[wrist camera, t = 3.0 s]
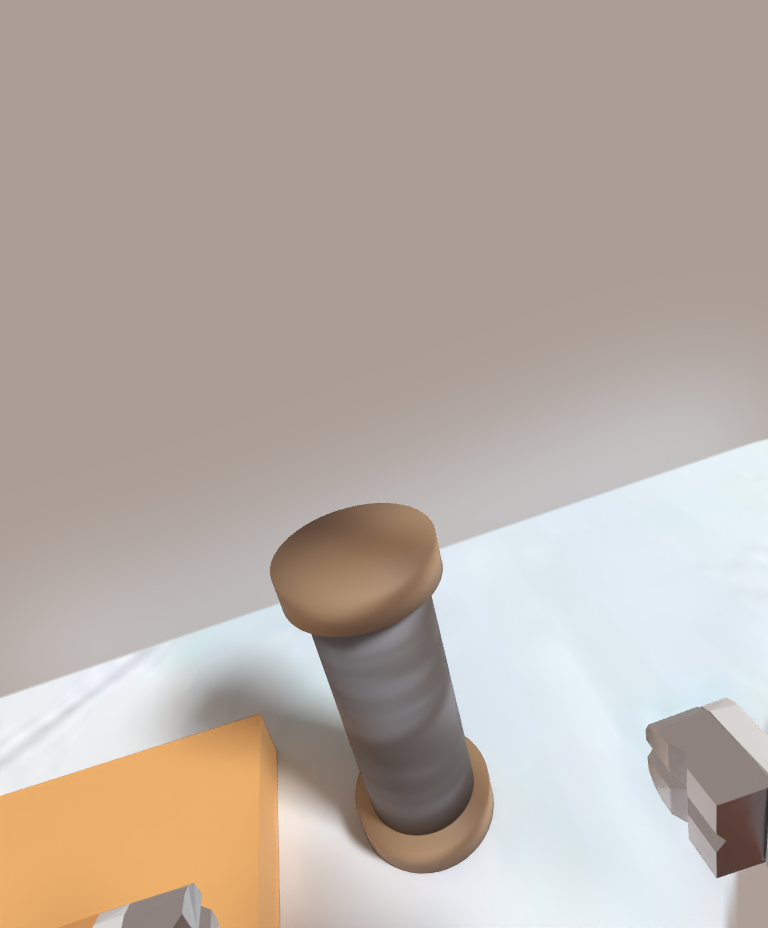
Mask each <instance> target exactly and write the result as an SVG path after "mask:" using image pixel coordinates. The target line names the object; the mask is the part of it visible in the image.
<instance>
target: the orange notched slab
mask: <svg viewBox="0 0 768 928" xmlns="http://www.w3.org/2000/svg"><path fill="white" fill-rule="evenodd" d="M191 883H195V885H196V886H197V888H198V889H199V890H200V892H201V893H202V899H201V906H203V907H205V908H208V909H211V910H212V911H213V913H214V915H215V916H216V918H217V921H218V924H219V927H220V928H280V905H279V849H278V793H277V751H276V748H275V746H274V744H273V741H272V739H271V737H270V734H269V732H268V730H267V727H266V725H265V723H264V720H263V718H262V716H261V714H257V715H254V716H251V717H248V718H245V719H242V720H238V721H235V722H232V723H229V724H226V725H223V726H220V727H216V728H213V729H210V730H207V731H204V732H201V733H197V734H194V735H191V736H188V737H185V738H182V739H179V740H175V741H172V742H169V743H166V744H163V745H160V746H157V747H153V748H150V749H147V750H144V751H141V752H138V753H134V754H131V755H128V756H125V757H122V758H119V759H116V760H112V761H109V762H106V763H103V764H100V765H97V766H93V767H90V768H87V769H84V770H81V771H78V772H75V773H71V774H68V775H65V776H62V777H59V778H56V779H53V780H49V781H46V782H43V783H40V784H37V785H34V786H30V787H27V788H24V789H21V790H18V791H15V792H12V793H8V794H5V795H2V796H0V928H92V927H93V925H94V924H95V922H96V920H97V918H98V916H99V914H101V913H104V912H106V911H109V910H112V909H115V908H118V907H121V906H124V905H127V904H130V903H134V902H137V901H140V900H143V899H146V898H149V897H152V896H155V895H158V894H161V893H164V892H167V891H170V890H173V889H176V888H179V887H182V886H185V885H188V884H191Z"/></svg>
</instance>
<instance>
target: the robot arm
mask: <svg viewBox="0 0 768 928" xmlns="http://www.w3.org/2000/svg"><path fill="white" fill-rule="evenodd" d="M646 740H647V741H648V743H649V744H650V745H651V747H652V748H653V749H652V751H651V753H650V754H649V756H648V765H649V772H650V774H651V777H652V780H653V782H654V785H655V787H656V789H657V791H658V793H659V795H660V797H661V798H662V800H663V802H664V803H665V805H666V806H667V808H668V809H669V810H670V812H671V813H672V814H673V815H675V816H677V817H679V818H680V819H682V820H684V821H686V822H688V828H689V840H690V841H691V842H692V844H693V845H694V847H695V848H696V850H697V851H698V852H699V854H700V855H701V857H702V858H703V860H704V861H705V862H706V864H707V865H708V867H709V868H710V870H711V871H712V872H713V874H714V875H715V877H716V878H719V877H722V876H725V875H728V874H731V873H734V872H737V871H740V870H743V869H746V868H749V867H752V866H755V865H758V864H761V863H764V862H766V866H767V867H768V734H767V733H766V732H765V731H764V730H763V729H762V728H761V727H760V726H759V725H758V724H757V723H756V722H755V721H754V720H753V719H752V718H751V717H750V716H749V715H748V714H747V713H746V712H745V711H744V710H743V709H742V708H741V707H740V706H739V705H738V704H737V703H736V702H734V701H732V700H730V699H728V698H724V699H720V700H718V701H715V702H712V703H710V704H707V705H704V706H702V707H696V708H693V709H690V710H687V711H685V712H682V713H679V714H677V715H674V716H671V717H668V718H666V719H663V720H660V721H657V722H655V723H652V724H649V725H648V726H647V728H646ZM201 899H202V893H201V892H200V890H199V889H198V888H197V886H196V885H195V883H191V884H188V885H185V886H182V887H179V888H176V889H173V890H170V891H167V892H164V893H161V894H158V895H155V896H152V897H149V898H146V899H143V900H140V901H137V902H134V903H130V904H127V905H124V906H121V907H118V908H115V909H112V910H109V911H106V912H104V913H101V914H99V916H98V918H97V920H96V922H95V924H94V925H93V927H92V928H220V927H219V924H218V921H217V918H216V916H215V915H214V913H213V911H212V910H211V909H208V908H205V907H203V906H201Z"/></svg>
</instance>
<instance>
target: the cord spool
mask: <svg viewBox="0 0 768 928" xmlns="http://www.w3.org/2000/svg"><path fill="white" fill-rule="evenodd" d="M442 572H443V565H442V560H441V555H440V551H439V546H438V542H437V537H436V533H435V529H434V525H433V523H432V521H431V520H430V519H429V518H428V517H427V516H426V515H425V514H423V513H422V512H420V511H419V510H417V509H414V508H412V507H409V506H405V505H400V504H391V503H375V504H365V505H358V506H353V507H349V508H345V509H342V510H338V511H335V512H333V513H330V514H327V515H325V516H322V517H320V518H318V519H316V520H314V521H312V522H310V523H309V524H307V525H305V526H303V527H302V528H301V529H299V530H298V531H296V532H295V533H294V534H293V535H291V536H290V537H289V538H288V539H287V540H286V541H285V542H284V543H283V544H282V545H281V547H279V549H278V550H277V552H276V553H275V555H274V557H273V559H272V562H271V566H270V576H271V580H272V582H273V585H274V588H275V591H276V593H277V596H278V598H279V601H280V604H281V607H282V609H283V612H284V614H285V616H286V618H287V619H288V620H289V621H290V622H291V623H292V624H293V625H294V626H295V627H297V628H299V629H301V630H302V631H305V632H308V633H310V634H312V637H313V640H314V643H315V645H316V648H317V651H318V654H319V657H320V660H321V662H322V665H323V668H324V671H325V674H326V677H327V679H328V682H329V685H330V688H331V691H332V693H333V696H334V699H335V702H336V705H337V708H338V710H339V713H340V716H341V719H342V722H343V725H344V727H345V730H346V733H347V736H348V739H349V741H350V744H351V747H352V750H353V753H354V756H355V758H356V761H357V764H358V767H359V770H360V774H359V777H358V780H357V785H356V805H357V810H358V813H359V816H360V819H361V822H362V824H363V827H364V830H365V832H366V835H367V837H368V839H369V842H370V844H371V845H372V847H373V848H374V850H375V851H376V852H377V853H378V854H379V856H380V857H382V858H383V859H384V860H385V861H386V862H388V863H389V864H391V865H393V866H394V867H396V868H399V869H401V870H404V871H408V872H412V873H433V872H439V871H442V870H445V869H448V868H451V867H453V866H455V865H457V864H459V863H460V862H462V861H463V860H465V859H466V858H467V857H468V856H469V855H471V854H472V853H473V852H474V851H475V850H476V848H477V847H478V846H479V845H480V843H481V842H482V840H483V839H484V837H485V835H486V833H487V831H488V829H489V827H490V824H491V821H492V815H493V806H494V801H493V793H492V788H491V784H490V779H489V774H488V770H487V766H486V763H485V760H484V758H483V756H482V754H481V753H480V751H479V750H478V748H477V747H476V746H475V745H474V744H473V743H472V742H471V741H470V740H469V739H468V738H466V737H465V736H464V732H463V728H462V724H461V719H460V715H459V711H458V707H457V702H456V698H455V694H454V690H453V685H452V681H451V677H450V673H449V668H448V664H447V660H446V656H445V651H444V647H443V643H442V639H441V634H440V630H439V626H438V622H437V617H436V613H435V609H434V605H433V600H432V596H431V595H432V594H433V593H434V591H435V590H436V588H437V587H438V585H439V582H440V580H441V577H442Z"/></svg>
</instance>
